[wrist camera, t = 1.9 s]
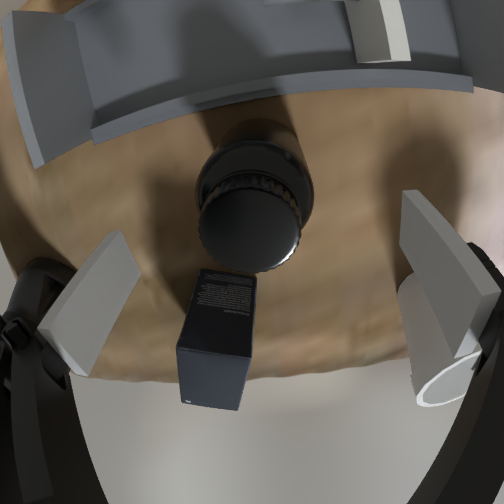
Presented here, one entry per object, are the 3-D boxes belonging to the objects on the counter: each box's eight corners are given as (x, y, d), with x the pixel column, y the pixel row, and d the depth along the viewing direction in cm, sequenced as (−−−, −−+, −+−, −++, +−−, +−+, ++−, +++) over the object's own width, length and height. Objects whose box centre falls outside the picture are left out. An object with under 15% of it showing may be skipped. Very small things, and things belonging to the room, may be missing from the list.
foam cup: (420, 323, 33) (450, 407, 22) (369, 306, 31) (396, 405, 21) (466, 270, 28) (515, 353, 17) (418, 243, 26) (475, 340, 16)
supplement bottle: (207, 132, 22) (151, 184, 12) (289, 108, 20) (306, 138, 11) (234, 204, 26) (208, 299, 16) (310, 185, 24) (335, 274, 14)
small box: (247, 340, 36) (239, 413, 27) (196, 331, 36) (178, 403, 27) (260, 276, 30) (255, 361, 21) (198, 266, 30) (171, 347, 21)
